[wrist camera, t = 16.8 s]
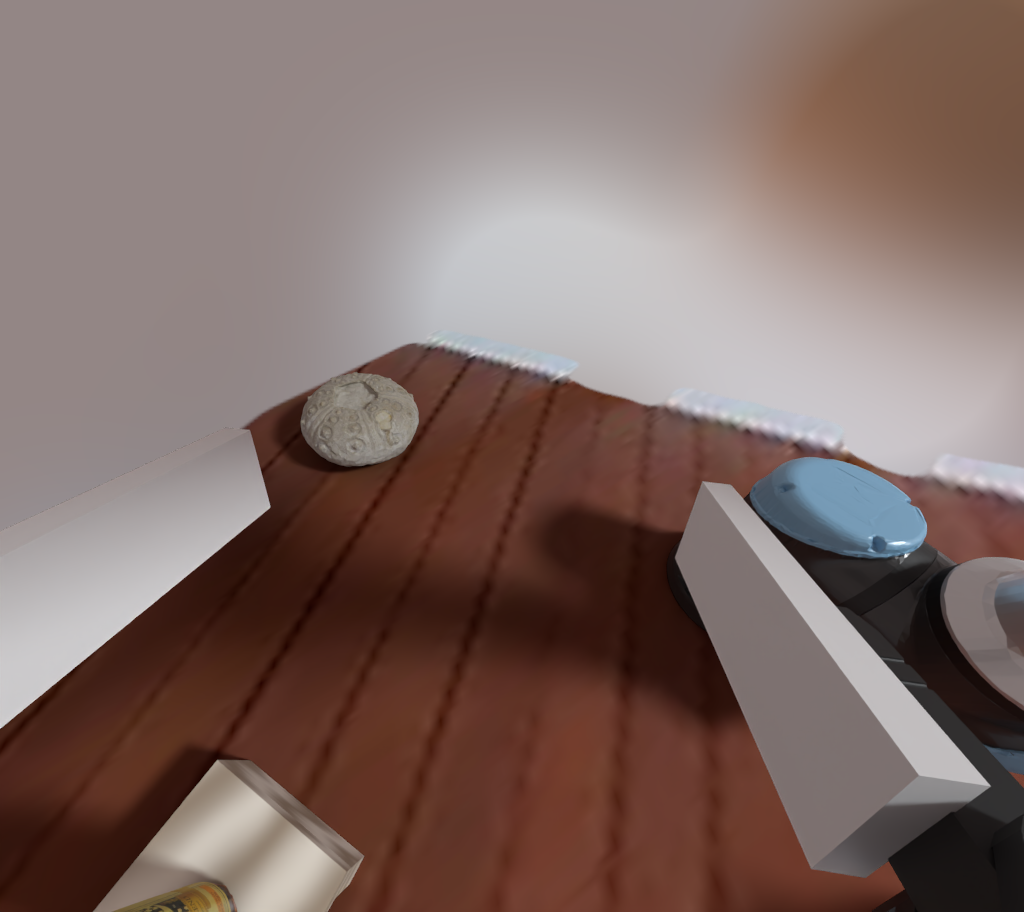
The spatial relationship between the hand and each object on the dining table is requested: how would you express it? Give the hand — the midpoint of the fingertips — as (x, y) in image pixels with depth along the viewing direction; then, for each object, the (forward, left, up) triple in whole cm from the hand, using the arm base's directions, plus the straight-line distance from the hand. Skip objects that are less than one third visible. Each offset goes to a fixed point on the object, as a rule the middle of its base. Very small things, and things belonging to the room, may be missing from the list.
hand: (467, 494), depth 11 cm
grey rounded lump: (+35, -23, -39) cm, 57 cm away
